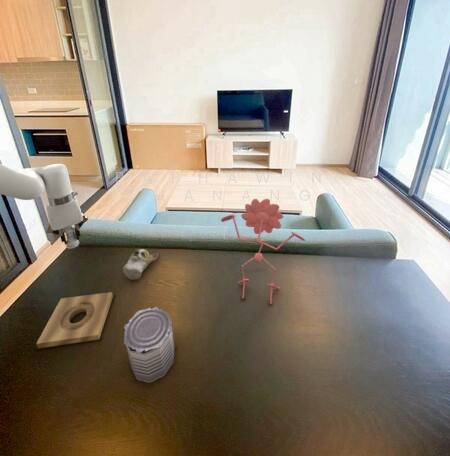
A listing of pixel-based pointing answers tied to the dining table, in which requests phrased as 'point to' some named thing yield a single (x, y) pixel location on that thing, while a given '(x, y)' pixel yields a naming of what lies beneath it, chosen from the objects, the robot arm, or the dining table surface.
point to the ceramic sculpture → (138, 263)
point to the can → (149, 343)
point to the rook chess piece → (71, 238)
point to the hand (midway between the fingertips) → (71, 239)
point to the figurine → (261, 229)
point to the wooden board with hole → (81, 331)
